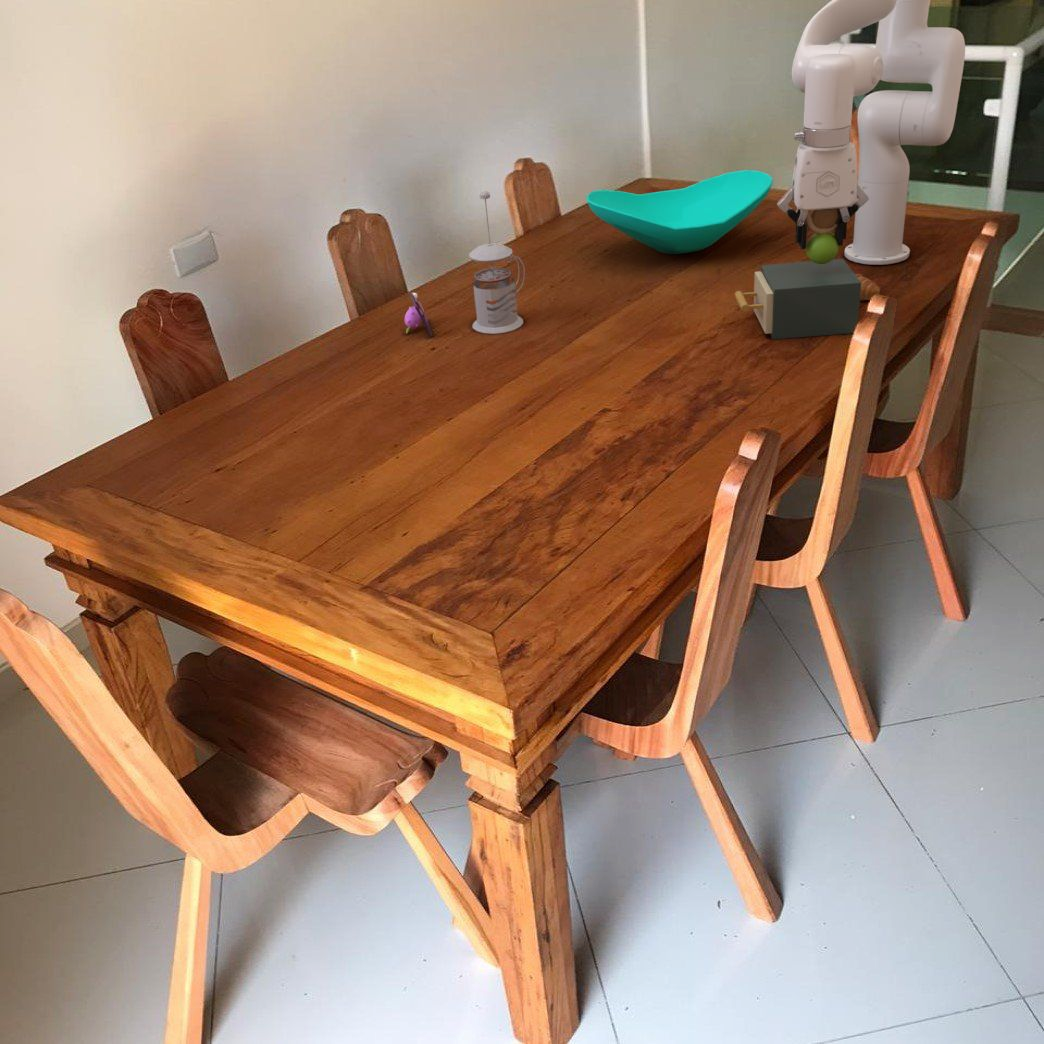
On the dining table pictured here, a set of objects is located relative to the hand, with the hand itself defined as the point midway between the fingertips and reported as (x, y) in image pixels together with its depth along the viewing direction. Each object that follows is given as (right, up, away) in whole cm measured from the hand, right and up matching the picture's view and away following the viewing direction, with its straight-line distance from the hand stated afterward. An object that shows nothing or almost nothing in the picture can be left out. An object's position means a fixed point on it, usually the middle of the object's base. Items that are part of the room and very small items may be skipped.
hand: (820, 243), depth 189 cm
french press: (-55, -10, +20) cm, 60 cm away
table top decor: (-17, +11, +47) cm, 52 cm away
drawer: (-4, -12, +7) cm, 14 cm away
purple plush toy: (-71, -12, +20) cm, 75 cm away
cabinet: (0, -12, +7) cm, 14 cm away
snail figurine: (0, -3, +2) cm, 4 cm away
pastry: (+11, -5, +17) cm, 21 cm away
